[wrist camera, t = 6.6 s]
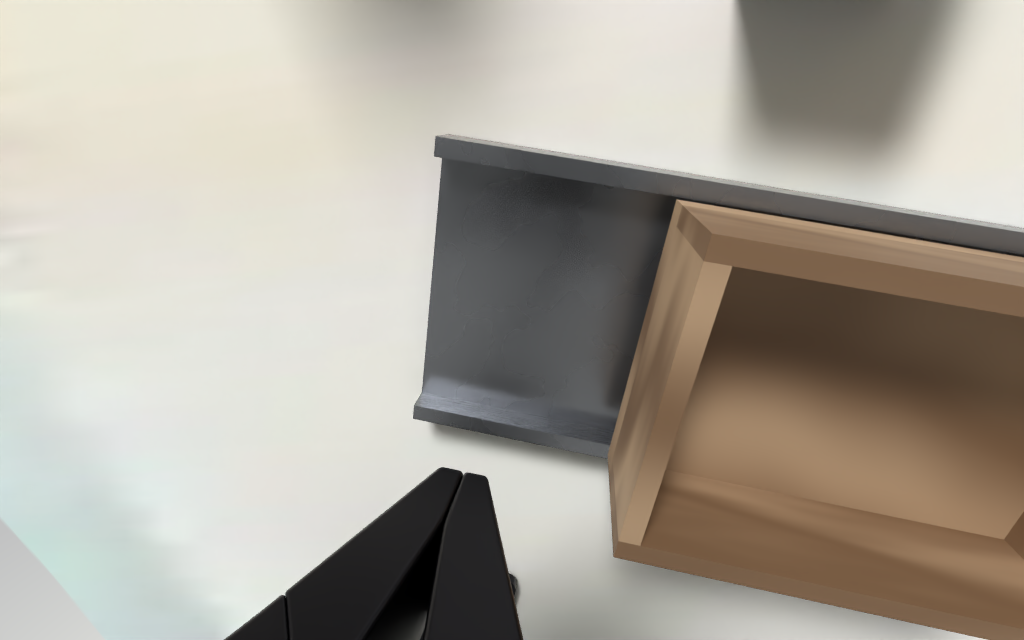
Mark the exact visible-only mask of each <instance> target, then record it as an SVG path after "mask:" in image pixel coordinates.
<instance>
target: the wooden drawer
mask: <svg viewBox="0 0 1024 640" xmlns="http://www.w3.org/2000/svg"><path fill="white" fill-rule="evenodd" d="M608 469H609V486H610V504H611V521H612V539H613V556H614V557H616V558H620V559H625V560H629V561H634V562H638V563H643V564H647V565H652V566H656V567H661V568H665V569H670V570H675V571H679V572H684V573H688V574H693V575H697V576H702V577H706V578H711V579H715V580H720V581H724V582H729V583H734V584H738V585H743V586H747V587H752V588H756V589H761V590H765V591H770V592H774V593H779V594H783V595H788V596H793V597H797V598H802V599H806V600H811V601H815V602H820V603H824V604H829V605H833V606H838V607H842V608H847V609H851V610H856V611H861V612H865V613H870V614H874V615H879V616H883V617H888V618H892V619H897V620H901V621H906V622H910V623H915V624H920V625H924V626H929V627H933V628H938V629H942V630H947V631H951V632H956V633H960V634H965V635H969V636H974V637H978V638H983V639H988V640H1024V257H1018V256H1012V255H1006V254H1000V253H994V252H988V251H982V250H976V249H970V248H964V247H958V246H952V245H946V244H940V243H934V242H928V241H922V240H916V239H910V238H904V237H898V236H892V235H886V234H880V233H874V232H868V231H862V230H856V229H850V228H844V227H838V226H832V225H826V224H820V223H814V222H808V221H802V220H796V219H791V218H785V217H779V216H773V215H767V214H761V213H755V212H749V211H743V210H737V209H731V208H725V207H719V206H713V205H707V204H701V203H695V202H689V201H683V200H677V199H676V203H675V207H674V210H673V214H672V218H671V222H670V225H669V229H668V233H667V236H666V240H665V244H664V248H663V251H662V255H661V259H660V262H659V266H658V270H657V274H656V277H655V281H654V285H653V288H652V292H651V296H650V300H649V303H648V307H647V311H646V314H645V318H644V322H643V326H642V329H641V333H640V337H639V340H638V344H637V348H636V352H635V355H634V359H633V363H632V366H631V370H630V374H629V378H628V381H627V385H626V389H625V392H624V396H623V400H622V404H621V407H620V411H619V415H618V418H617V422H616V426H615V430H614V433H613V437H612V441H611V444H610V448H609V452H608Z"/></svg>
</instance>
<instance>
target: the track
mask: <svg viewBox="0 0 1024 640" xmlns="http://www.w3.org/2000/svg"><path fill="white" fill-rule="evenodd" d="M434 156H435V157H441V158H442V166H441V178H440V190H439V201H438V213H437V224H436V236H435V248H434V259H433V271H432V282H431V294H430V305H429V317H428V329H427V340H426V352H425V363H424V375H423V387H422V393H421V395H420V396H419V398H418V400H417V401H416V403H415V405H414V413H413V419H418V420H423V421H428V422H432V423H437V424H442V425H447V426H452V427H457V428H461V429H466V430H471V431H476V432H481V433H486V434H490V435H495V436H500V437H505V438H510V439H515V440H520V441H524V442H529V443H534V444H539V445H544V446H549V447H553V448H558V449H563V450H568V451H573V452H578V453H583V454H587V455H592V456H597V457H602V458H607V459H608V452H609V448H610V444H611V441H612V437H613V433H614V430H615V426H616V422H617V418H618V415H619V411H620V407H621V404H622V400H623V396H624V392H625V389H626V385H627V381H628V378H629V374H630V370H631V366H632V363H633V359H634V355H635V352H636V348H637V344H638V340H639V337H640V333H641V329H642V326H643V322H644V318H645V314H646V311H647V307H648V303H649V300H650V296H651V292H652V288H653V285H654V281H655V277H656V274H657V270H658V266H659V262H660V259H661V255H662V251H663V248H664V244H665V240H666V236H667V233H668V229H669V225H670V222H671V218H672V214H673V210H674V207H675V203H676V199H677V200H683V201H689V202H695V203H701V204H707V205H713V206H719V207H725V208H731V209H737V210H743V211H749V212H755V213H761V214H767V215H773V216H779V217H785V218H791V219H796V220H802V221H808V222H814V223H820V224H826V225H832V226H838V227H844V228H850V229H856V230H862V231H868V232H874V233H880V234H886V235H892V236H898V237H904V238H910V239H916V240H922V241H928V242H934V243H940V244H946V245H952V246H958V247H964V248H970V249H976V250H982V251H988V252H994V253H1000V254H1006V255H1012V256H1018V257H1024V228H1019V227H1013V226H1007V225H1001V224H995V223H988V222H982V221H976V220H970V219H964V218H958V217H952V216H946V215H939V214H933V213H927V212H921V211H915V210H909V209H903V208H897V207H890V206H884V205H878V204H872V203H866V202H860V201H854V200H848V199H842V198H835V197H829V196H823V195H817V194H811V193H805V192H799V191H793V190H786V189H780V188H774V187H768V186H762V185H756V184H750V183H744V182H737V181H731V180H725V179H719V178H713V177H707V176H701V175H695V174H689V173H682V172H676V171H670V170H664V169H658V168H652V167H646V166H640V165H633V164H627V163H621V162H615V161H609V160H603V159H597V158H591V157H585V156H578V155H572V154H566V153H560V152H554V151H548V150H542V149H536V148H529V147H523V146H517V145H511V144H505V143H499V142H493V141H487V140H480V139H474V138H468V137H462V136H456V135H450V134H448V135H440V136H436V139H435V151H434Z"/></svg>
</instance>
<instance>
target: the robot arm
mask: <svg viewBox="0 0 1024 640" xmlns="http://www.w3.org/2000/svg"><path fill="white" fill-rule="evenodd" d="M515 590H516V579H515V577H514V576H512V575H511V574H509V573H508V568H507V564H506V559H505V555H504V550H503V546H502V541H501V537H500V532H499V528H498V523H497V518H496V514H495V509H494V505H493V500H492V496H491V491H490V487H489V482H488V479H487V478H486V477H485V476H482V475H477V474H473V473H465V474H464V475H463V474H462V472H461V471H459V470H454V469H449V468H444V467H441V468H439V469H437V470H436V471H435V472H434V473H432V474H431V475H430V476H429V477H427V478H426V479H425V480H424V481H422V482H421V483H420V484H419V485H417V486H416V487H415V488H414V489H412V490H411V491H410V492H409V493H407V494H406V495H405V496H404V497H403V498H401V499H400V500H399V501H398V502H396V503H395V504H394V505H393V506H391V507H390V508H389V509H388V510H386V511H385V512H384V513H383V514H381V515H380V516H379V517H378V518H376V519H375V520H374V521H373V522H372V523H370V524H369V525H368V526H367V527H365V528H364V529H363V530H362V531H360V532H359V533H358V534H357V535H355V536H354V537H353V538H352V539H350V540H349V541H348V542H347V543H345V544H344V545H343V546H342V547H341V548H339V549H338V550H337V551H336V552H334V553H333V554H332V555H331V556H329V557H328V558H327V559H326V560H324V561H323V562H322V563H321V564H319V565H318V566H317V567H316V568H314V569H313V570H312V571H311V572H310V573H308V574H307V575H306V576H305V577H303V578H302V579H301V580H300V581H298V582H297V583H296V584H295V585H293V586H292V587H291V588H290V589H288V590H287V591H286V593H285V596H284V595H281V596H279V597H278V598H277V599H276V600H274V601H273V602H272V603H271V604H269V605H268V606H267V607H266V608H265V609H263V610H262V611H261V612H260V613H258V614H257V615H256V616H254V617H253V618H252V619H250V620H249V621H248V622H247V623H245V624H244V625H243V626H241V627H240V628H239V629H237V630H236V631H235V632H234V633H232V634H231V635H230V636H228V637H227V638H226V639H224V640H523V636H522V632H521V627H520V623H519V618H518V614H517V609H516V605H515V600H514V595H515ZM285 597H286V598H285Z"/></svg>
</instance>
